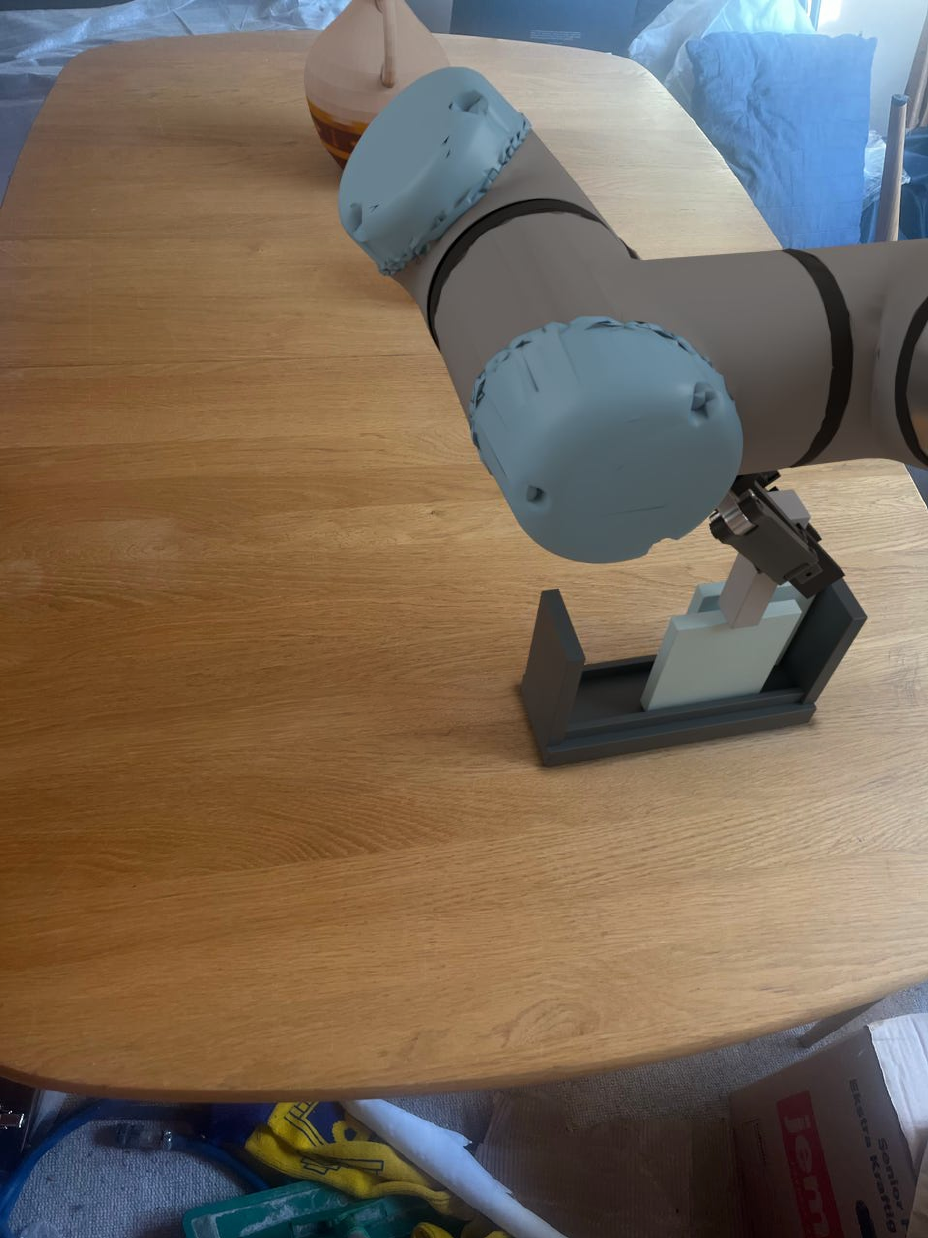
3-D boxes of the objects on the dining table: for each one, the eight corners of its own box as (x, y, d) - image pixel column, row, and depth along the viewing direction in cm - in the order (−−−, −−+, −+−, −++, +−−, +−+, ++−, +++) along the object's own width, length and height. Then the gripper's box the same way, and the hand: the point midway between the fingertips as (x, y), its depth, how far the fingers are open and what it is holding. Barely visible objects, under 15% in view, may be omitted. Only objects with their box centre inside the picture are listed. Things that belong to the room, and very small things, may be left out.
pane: (761, 702, 71) (865, 509, 56) (648, 720, 69) (724, 527, 54) (748, 676, 73) (846, 482, 58) (636, 694, 71) (708, 498, 56)
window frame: (809, 723, 73) (872, 623, 64) (544, 767, 69) (570, 667, 60) (770, 651, 77) (824, 548, 68) (518, 689, 73) (539, 584, 64)
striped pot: (461, 213, 119) (482, -76, 96) (316, 216, 116) (302, -81, 93) (435, 140, 131) (447, -131, 108) (303, 142, 128) (287, -137, 105)
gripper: (514, 325, 51) (715, 515, 67) (608, 529, 42) (815, 693, 58) (627, 226, 48) (809, 449, 64) (755, 421, 39) (931, 625, 55)
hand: (811, 564), depth 61 cm, fingers closed on pane, 2 cm apart
